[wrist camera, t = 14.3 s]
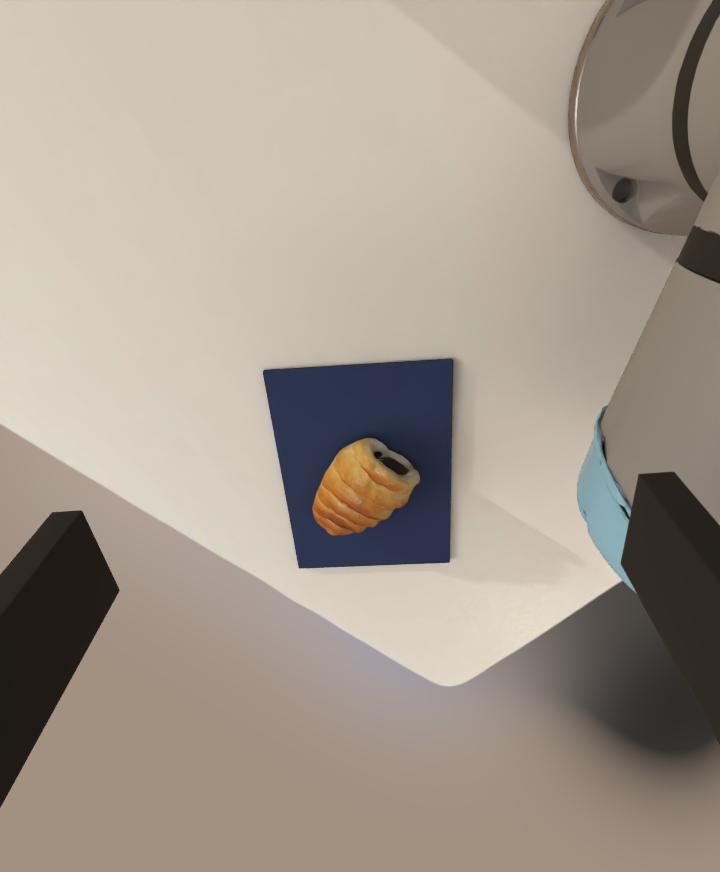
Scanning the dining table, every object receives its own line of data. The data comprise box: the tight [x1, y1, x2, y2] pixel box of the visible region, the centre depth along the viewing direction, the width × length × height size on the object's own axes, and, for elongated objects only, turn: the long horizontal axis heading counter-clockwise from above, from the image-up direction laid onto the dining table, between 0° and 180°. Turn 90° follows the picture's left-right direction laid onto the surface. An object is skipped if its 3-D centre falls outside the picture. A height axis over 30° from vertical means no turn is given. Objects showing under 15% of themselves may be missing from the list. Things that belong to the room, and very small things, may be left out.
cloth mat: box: [263, 359, 453, 568], centre depth 44 cm, size 14×20×1 cm
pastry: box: [312, 438, 420, 536], centre depth 42 cm, size 9×7×4 cm
